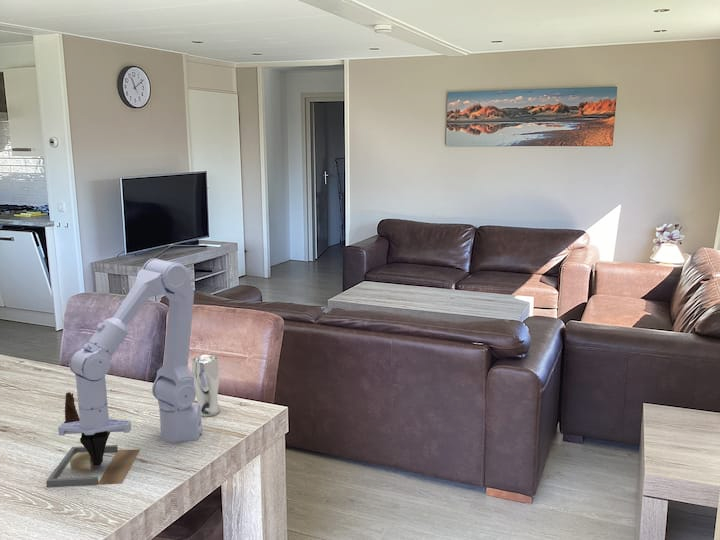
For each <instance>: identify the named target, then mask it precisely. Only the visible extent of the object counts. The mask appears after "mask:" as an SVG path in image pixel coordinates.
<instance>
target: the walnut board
mask: <svg viewBox="0 0 720 540" xmlns="http://www.w3.org/2000/svg"><path fill="white" fill-rule="evenodd" d="M140 451H141V449H140V448H139V449H136V448H135V449H118V451H117V452H115V454H114V456H113V457H112V459H111V461H110V463H109V464H108V466H107V468H106V469H105V471H104V472H103V474H102V476H101V477H100V479H99V480H98V484H97V485H96V486H98V485H99V486H100V485H101V486H103V485H117V484H118V485H119V484H120V485H122V484H123V483H124V481H125V479H126V478H127V476H128V473H129V472H130V470H131V468H132V466H133V464H134V462H135V461H136V458H137V457H138V455H139V453H140Z"/></svg>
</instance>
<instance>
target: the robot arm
mask: <svg viewBox="0 0 720 540" xmlns="http://www.w3.org/2000/svg"><path fill="white" fill-rule="evenodd" d="M191 274H192V272H191V271H190V270H189V269H188V268H187V267H186V266H185V265H184V264H182V263H181V262H173V261H167V260H164V259H163V260H162V259H160V258H156V257H155V258H150V259H148V260H147V261H146V262H145V263H144V264H143V266H142V268H141V269H140V270H139V271H138V272H137V274H136V275H137V276H136V278H135V282H134V284H133V286H132V287H131V289H130V290H129V291H128V293H127V295H126V296H125V298H124V299H123V301H122V302H121V304H120V306H119V307H118V309H117V310H116V311H115V313H114V315H113V316H112V317H109V318H107V319H103V321H102V322H98V324H97V325H96V331H95V332H94V333H93V334H92V336H91V337H90V339H89V340H88V341H87V342H86V343H84V345H83V348H81V349H79V350H77V351H76V352H74V354H73V355H72V357H71V359H70V363H68V368H69V370H70V371H71V372H72V373H73V374H74V375H75V383H76V395H77V405H78V416H79V419H80V421H77V422H71V423H64V422H63V423H60V424H59V426H57V430H58V431H57V432H58V436H65V435H73V434H74V435H76V434H81V437H80V438H79V441H80V444H81V445H82V446H84V447H85V448H86V449H87V451H88V453H89V455H90V457H91V459H92V462H93V465H94V467H96V466H97V467H98V466H99V467H100V466H101V465H102V463H103V461H104V449H105V445H107V441H108V440H109V436H110V434H111V433H120V432H121V433H122V432H123V433H124V434H128V433H130V432H131V430H132V422H131V420H121V419H113V418H109V417H110V416H109V405H108V403H109V402H108V393H107V383H106V382H107V381H106V374H108V373H109V371H110V368H111V360H112V358H113V355H115V353H116V352H117V350H118V348H119V347H120V345H122V343H123V342H124V340H125V339H126V337H127V336H128V334H129V331H128V326H129V324H130V323H131V321H132V320H133V319H134V318H135V317H136V315H137V314H138V313H139V312H140V310H141V309H142V308H143V307H144V305H145V304H146V303H147V302H148V300H149V299H150V298H153V297H157V296H162V295H164V296H165V297H166V298H167V299H168V301H169V302H168V313H167V325H166V333H165V334H166V335H165V347H164V348H165V349H164V357H163V365H162V366H161V367H159V369H158V370H157V371H156V377H155V380H154V382H153V385H152V387H151V388H152V389H151V393H152V396H153V397H154V398H155V399H157V404H158V408H159V410H158V411H159V422H160V423H159V424H160V439H161V440H162V441H163V442H167V443H181V442H187V441H189V442H190V441H191V442H192V441H199V440H200V436H201V435H202V433H203V424H202V423H203V422H202V417H201V407H200V405H199V404H197V403H195V400H196V398H197V396H196V389H195V386H194V376H193V374H192V370H190V368H189V366H188V365H189V355H190V344H191V336H192V335H191V334H192V320H193V311H194V299H195V291H194V288H193V286H192V281H191Z"/></svg>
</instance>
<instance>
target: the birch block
mask: <svg viewBox="0 0 720 540" xmlns="http://www.w3.org/2000/svg"><path fill="white" fill-rule="evenodd" d="M69 463H70V471H71V473H85V472H91V471H92V470H93V469H94V467H95V466H94V465H93V462H92V459H91V457H90V455H89V453H88V452H79V453H76V454H75V455H74V456H73V457H72V459H71V460H70V462H69Z"/></svg>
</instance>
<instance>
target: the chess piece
mask: <svg viewBox="0 0 720 540" xmlns="http://www.w3.org/2000/svg"><path fill="white" fill-rule="evenodd" d="M76 408H77V407H76V405H75V397H74V393H71V392H70V391H68V392H66V393H65V402H64V420H65V421H64V422H63V423H71V422H77V421H80V418H79V412H78V411H77V409H76Z"/></svg>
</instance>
